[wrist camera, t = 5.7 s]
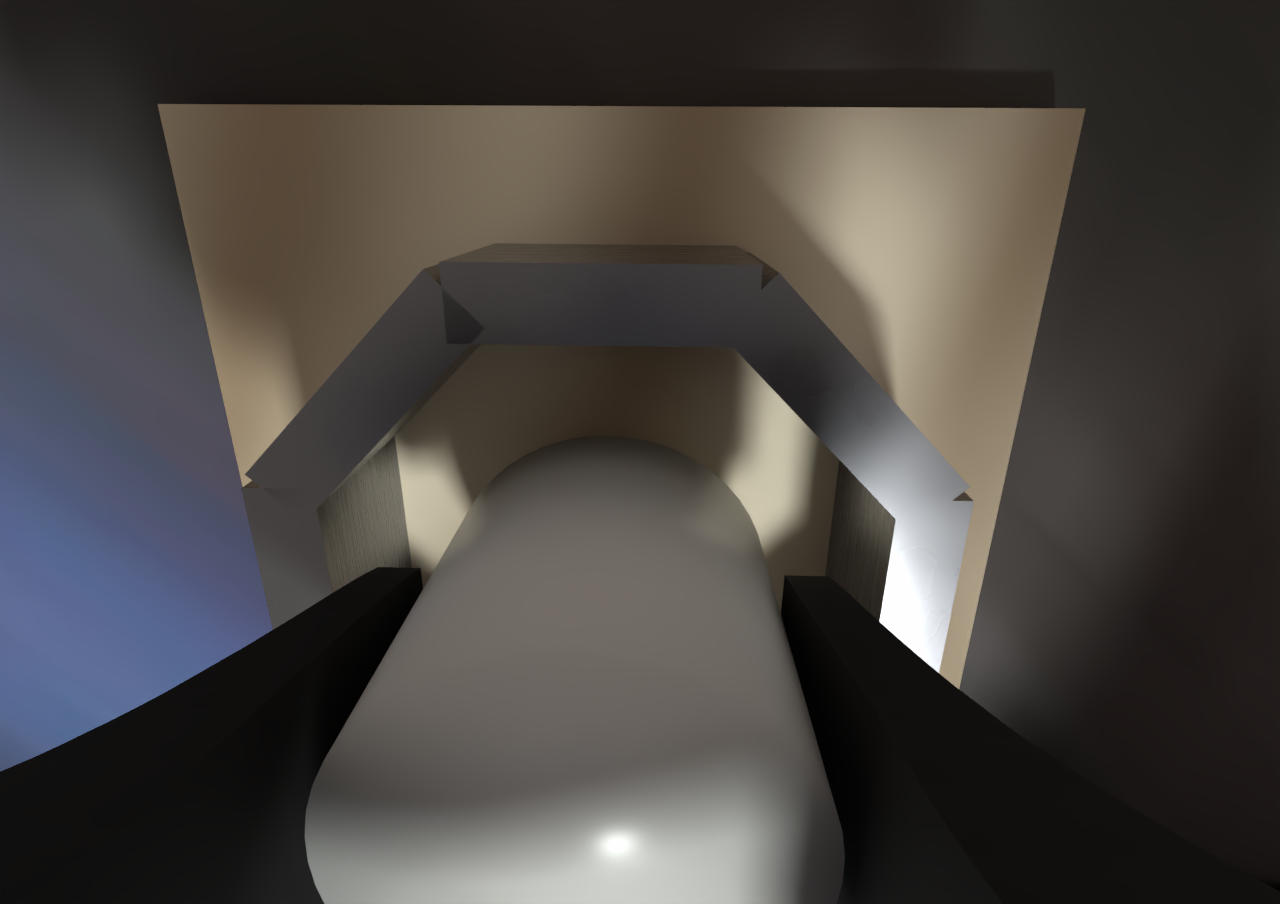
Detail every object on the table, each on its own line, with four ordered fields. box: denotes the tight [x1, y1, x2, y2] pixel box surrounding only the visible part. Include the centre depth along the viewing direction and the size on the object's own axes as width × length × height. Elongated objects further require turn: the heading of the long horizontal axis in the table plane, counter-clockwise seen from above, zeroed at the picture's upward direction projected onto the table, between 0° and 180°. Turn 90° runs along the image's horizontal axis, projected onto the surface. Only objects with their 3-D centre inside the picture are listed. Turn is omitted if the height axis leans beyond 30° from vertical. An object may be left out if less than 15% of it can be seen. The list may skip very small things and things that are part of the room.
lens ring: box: [241, 243, 974, 673], centre depth 11 cm, size 10×10×3 cm
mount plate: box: [158, 104, 1086, 689], centre depth 13 cm, size 14×14×1 cm
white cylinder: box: [305, 436, 845, 904], centre depth 9 cm, size 5×5×5 cm
